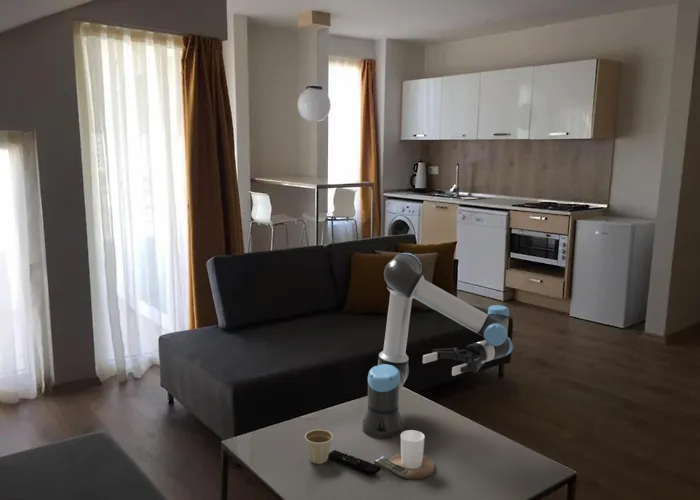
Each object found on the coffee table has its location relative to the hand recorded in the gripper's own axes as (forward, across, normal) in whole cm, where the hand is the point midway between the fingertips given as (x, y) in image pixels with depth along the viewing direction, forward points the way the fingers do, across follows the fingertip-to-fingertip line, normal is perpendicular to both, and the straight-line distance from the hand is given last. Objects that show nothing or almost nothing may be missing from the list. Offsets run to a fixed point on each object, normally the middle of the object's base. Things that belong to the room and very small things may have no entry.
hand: (437, 365), depth 203 cm
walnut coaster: (+13, -2, -32) cm, 34 cm away
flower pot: (+35, +20, -32) cm, 51 cm away
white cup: (+13, -2, -31) cm, 34 cm away
